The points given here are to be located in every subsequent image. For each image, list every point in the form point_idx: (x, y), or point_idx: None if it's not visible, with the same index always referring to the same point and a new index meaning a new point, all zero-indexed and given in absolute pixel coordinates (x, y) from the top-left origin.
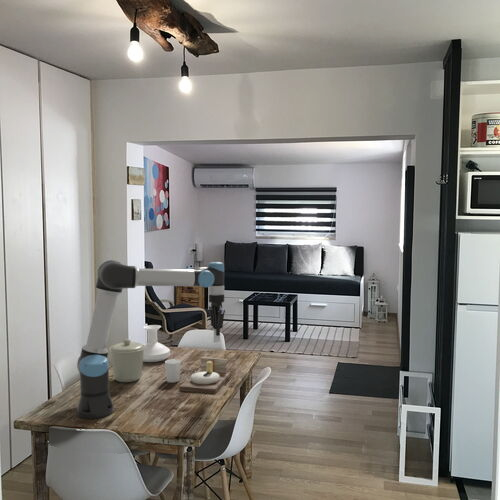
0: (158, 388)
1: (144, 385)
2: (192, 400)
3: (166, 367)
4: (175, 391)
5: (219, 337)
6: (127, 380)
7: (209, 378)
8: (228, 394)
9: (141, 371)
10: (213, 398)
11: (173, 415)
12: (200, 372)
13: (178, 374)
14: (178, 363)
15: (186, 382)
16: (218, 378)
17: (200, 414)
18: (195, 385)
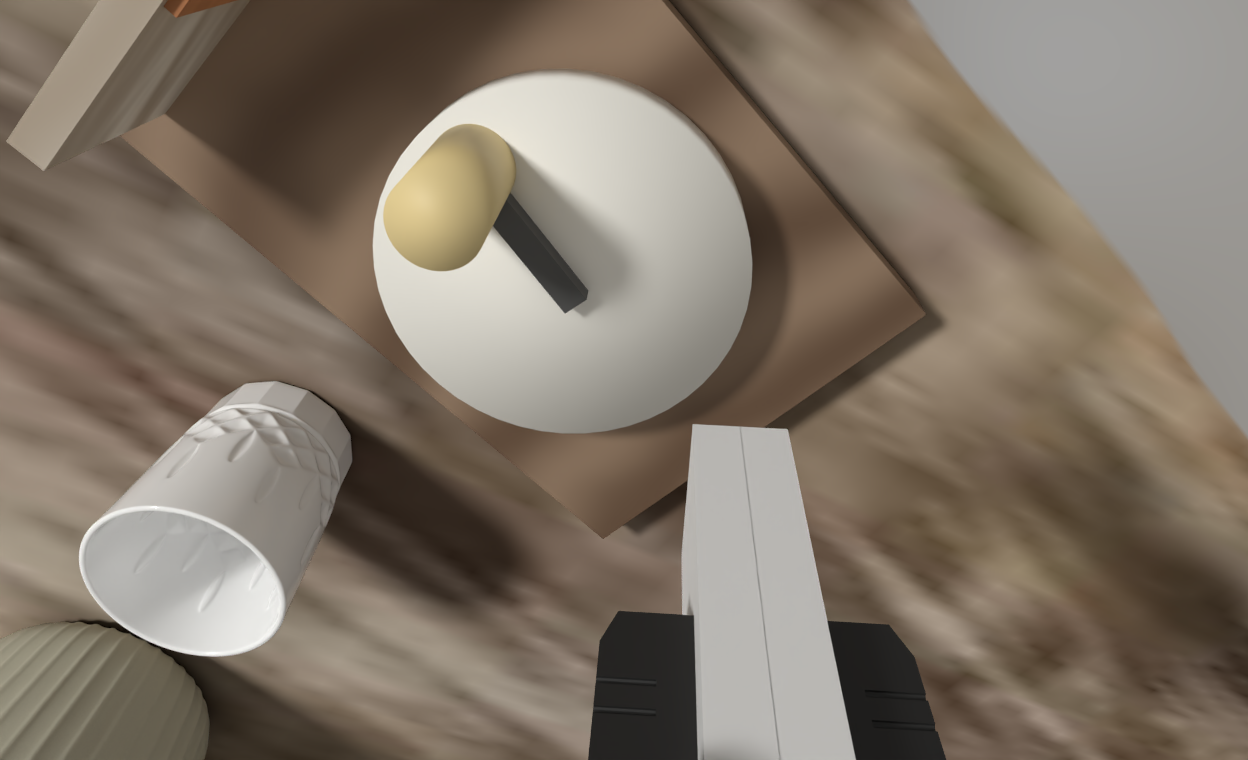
0: (453, 607)
1: (322, 651)
2: (915, 533)
3: (247, 610)
4: (607, 542)
5: (803, 534)
6: (208, 736)
7: (695, 287)
8: (1054, 190)
9: (105, 676)
10: (1022, 376)
11: (1070, 733)
12: (396, 260)
13: (317, 461)
14: (273, 553)
15: (526, 444)
16: (710, 150)
17: (1228, 613)
18: (671, 417)
